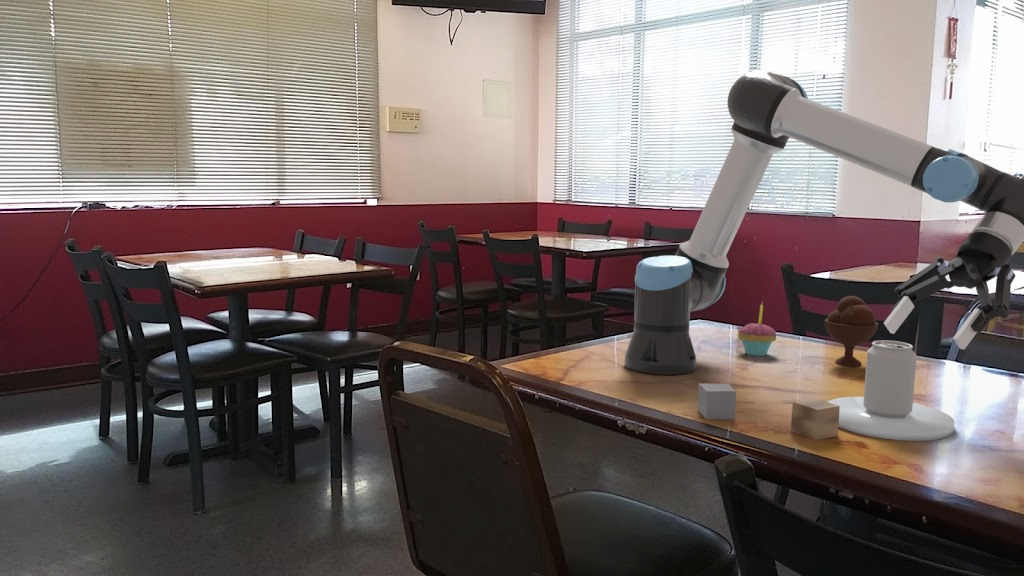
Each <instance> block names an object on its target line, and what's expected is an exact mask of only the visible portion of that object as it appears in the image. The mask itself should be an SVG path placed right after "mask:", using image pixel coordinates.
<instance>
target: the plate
mask: <svg viewBox="0 0 1024 576" xmlns="http://www.w3.org/2000/svg"><path fill="white" fill-rule="evenodd" d="M826 402H829V403H832V404H835V405H838V406H840V410H839V424H838V428H839V429H840V428H841V429H842V430H846V431H849V432H852V433H855V434H859V435H863V436H868V437H873V438H877V439H878V438H880V439H886V440H894V441H907V442H928V441H939V440H942V439H946V438H949V437H950V436H952V435H953V434H954V431H955V419H954V418H953V417H952V416H951V415H950V414H948V413H946V412H944V411H942V410H939V409H937V408H935V407H931V406H927V405H924V404H921V403H917V402H913V406H912V412H911V413H909V414H907V415H906V416H905V417H902V418H888V417H881V416H877V415H874V414H872V413H870V412H868V410H867V409H866V408H865V407H864V405H863V402H864V396H845V397H844V396H843V397H838V398H833V399H830V400H828V401H826Z"/></svg>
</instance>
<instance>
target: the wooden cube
mask: <svg viewBox="0 0 1024 576" xmlns="http://www.w3.org/2000/svg"><path fill="white" fill-rule="evenodd" d="M839 410H840V406H838V405H835V404H832V403H829V402H827V401H825V400H822V399H820V398H819V399H818V398H816V397H813V398H806V399H801V400H795V401H792V409H791V421H790V422H791V423H790V424H791V426H790V432H791V433H794V434H798V435H800V436H803V437H806V438H808V439H811V440H813V441H818V440H823V439H824V440H825V439H829V438H834V437H838V436H839V427H838V424H839Z"/></svg>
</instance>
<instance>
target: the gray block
mask: <svg viewBox="0 0 1024 576" xmlns="http://www.w3.org/2000/svg"><path fill="white" fill-rule="evenodd" d="M697 396H698V397H697V398H698V399H697V412H698V411H699V412H700V413H701V414H702V415H703V416H704V417H705V418H706V419H723V420H736V407H737V406H736V403H737V391H736V389H734V388H733V387H732V386H731V385H729V383H698V394H697ZM699 412H698V413H699ZM700 413H699V414H700ZM701 414H700V415H701ZM702 415H701V416H702ZM703 416H702V417H703ZM704 417H703V418H704ZM705 418H704V419H705ZM706 419H705V420H706Z"/></svg>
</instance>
